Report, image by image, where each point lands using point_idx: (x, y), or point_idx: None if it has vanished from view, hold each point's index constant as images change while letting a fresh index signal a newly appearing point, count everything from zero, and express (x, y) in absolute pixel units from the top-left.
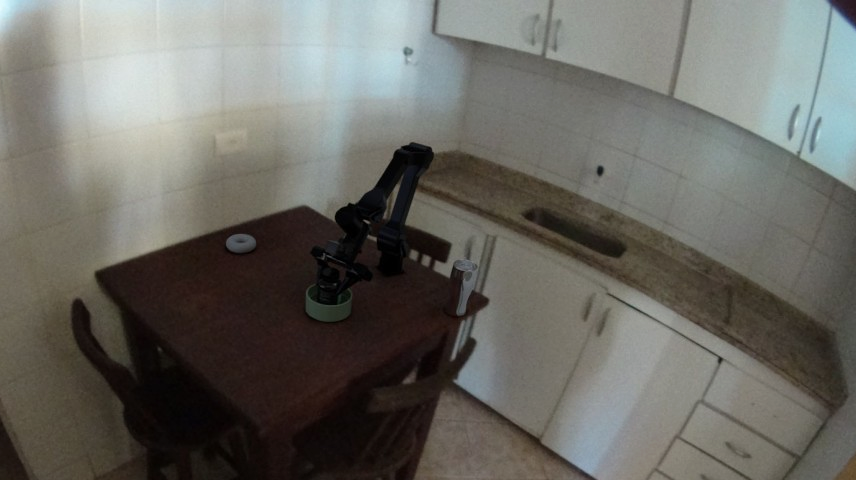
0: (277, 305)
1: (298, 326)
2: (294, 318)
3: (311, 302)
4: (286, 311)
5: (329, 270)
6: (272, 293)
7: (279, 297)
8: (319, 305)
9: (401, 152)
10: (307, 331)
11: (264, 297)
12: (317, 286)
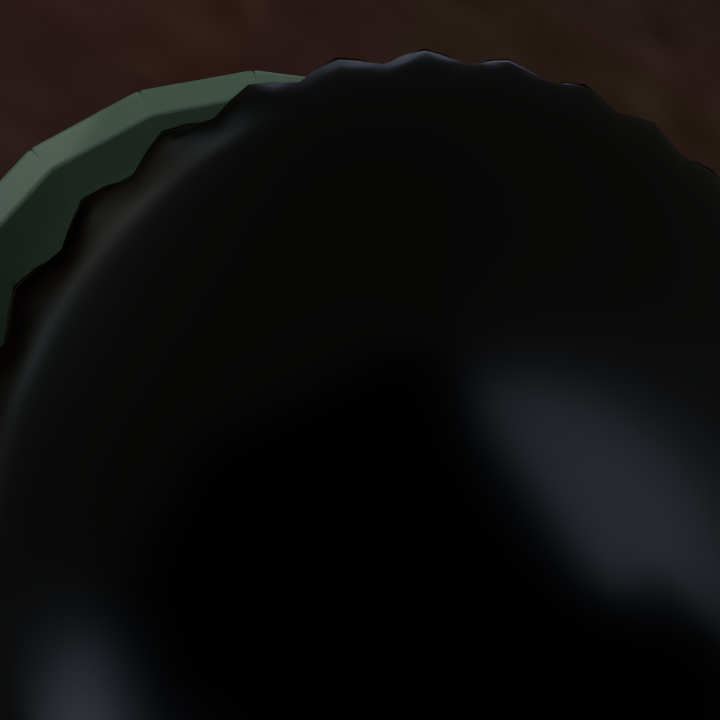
0: (520, 32)
1: (131, 12)
2: (277, 52)
3: (214, 88)
4: (410, 50)
5: (616, 497)
6: (690, 91)
7: (623, 110)
8: (68, 137)
9: None
10: (4, 40)
11: (657, 5)
12: None
